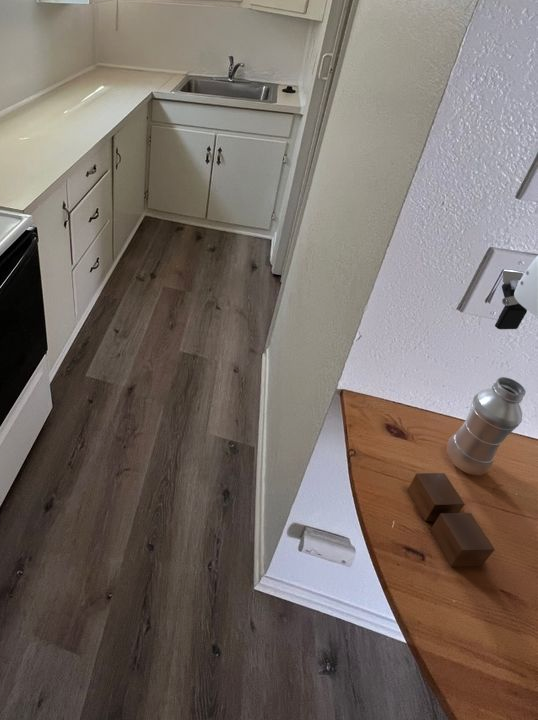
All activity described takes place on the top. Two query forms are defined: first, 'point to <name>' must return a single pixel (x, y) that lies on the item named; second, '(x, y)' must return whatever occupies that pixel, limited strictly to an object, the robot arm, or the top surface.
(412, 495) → the walnut block
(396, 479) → the top surface
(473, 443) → the silver bottle
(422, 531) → the top surface
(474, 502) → the top surface
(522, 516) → the top surface
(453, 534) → the walnut block
